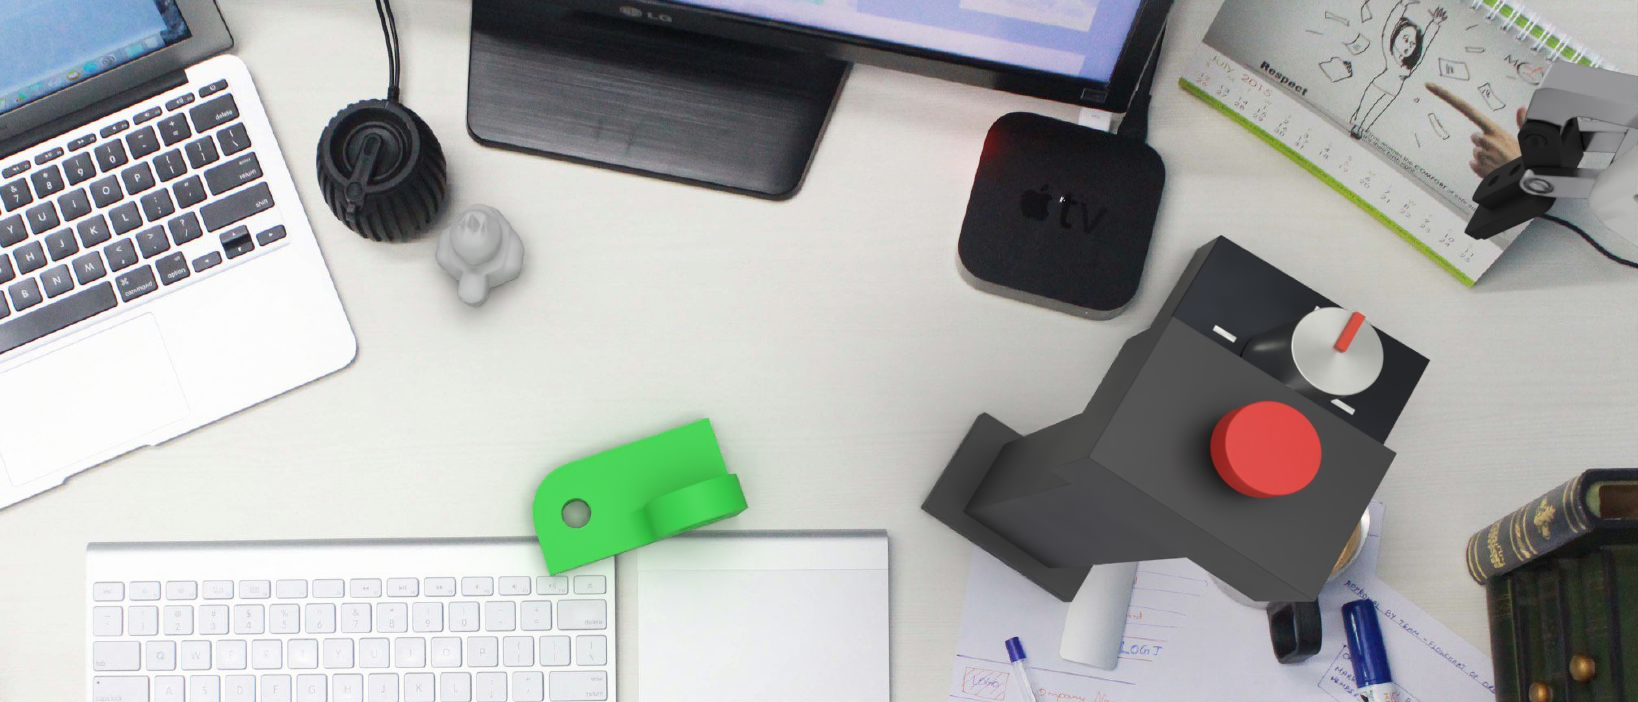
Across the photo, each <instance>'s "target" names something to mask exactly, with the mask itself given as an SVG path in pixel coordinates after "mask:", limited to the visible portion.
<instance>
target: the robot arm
mask: <svg viewBox="0 0 1638 702" xmlns="http://www.w3.org/2000/svg"><path fill="white" fill-rule="evenodd" d="M1578 118H1585V119H1589V120H1579V119H1578ZM1516 138H1517V143H1518V146H1519V151H1520V156H1517V157H1516V158H1514V159H1512V160H1510V161H1508V162H1506V163H1504V164H1502V165H1500V166H1499V167H1496V168H1494V169H1493V170H1491V171H1490V172H1489V173H1488V174H1487V175H1486V176H1485V177H1483V179H1481V181H1480V183H1479V184H1478V186H1477V187H1476V189H1475V191H1474V193H1473V195H1472V196H1471V197H1472V198H1471V201H1472V202H1473V203H1476V204H1477V208H1476V209H1475V210H1474V213H1473V214H1472V216H1471V218H1470V220H1469V221H1468V223H1467V225H1466V227H1465V228H1464V231H1463V233H1464V234H1465V235H1467V236H1468V237H1471V238H1472V239H1473V240H1475V241H1479V240H1483V241H1486V240H1488V239H1490V238H1493V237H1494V236H1497V235H1499V234H1501V233H1503V232H1506V231H1508V230H1511V229H1513V228H1515V227H1517V226H1520V225H1522V224H1524V223H1526V222H1529V221H1531V220H1533V219H1536V218H1538V217H1540V216H1543V215H1544V214H1546V213H1547V212H1549V211H1550V210H1551V209H1552V207H1553V206H1554V205H1555V202H1556V201H1557V199H1558V198H1559V199H1573V200H1574V199H1575V200H1586V203H1587V206H1588V208H1589V209H1590V210H1589V211H1590V212H1592V215H1593V216H1594V217H1595V218H1596V219H1597V220H1598V221H1599V222H1600V223H1601V224H1602V225H1603V226H1604V227H1606V228H1607V229H1608V230H1609V231H1610V232H1612V233H1613V234H1614V235H1616V236H1618V237H1619V238H1621V239H1623V240H1624V241H1626V242H1627V243H1629V244H1631V245H1632V246H1634V247H1636V248H1638V75H1634V74H1630V73H1625V72H1620V71H1615V70H1610V69H1605V68H1600V67H1597V66H1596V67H1595V66H1590V65H1587V64H1586V65H1585V64H1580V63H1575V62H1570V61H1562V60H1560V61H1555V62H1552V63H1551V64H1549V65H1548V67H1547V68H1546V70H1545V72H1544V73H1543V76H1542V77H1541V79H1540V81H1539V83H1538V84H1537V86H1536V88H1535V89H1534V91H1533V94H1532V96H1531V99H1530V102H1529V104H1528V107H1527V109H1526V113H1525V115H1524V120H1523V122H1522V125H1521V127H1520V129H1519V131H1518V133H1517V137H1516ZM1584 153H1603V154H1614V155H1613V157H1612V159H1611V160H1610V163H1609V164H1608V165H1607V167H1606V168H1594V167H1579V165H1580V163H1581V161H1582V160H1583V158H1584V156H1585V154H1584Z"/></svg>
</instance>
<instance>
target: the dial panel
mask: <svg viewBox="0 0 1638 702" xmlns="http://www.w3.org/2000/svg"><path fill="white" fill-rule="evenodd" d="M1165 300H1166V301H1164V303H1163V305H1162V307H1161V309H1160V310H1159V312H1158V313H1157V315H1156V317H1155V318H1154V320H1153V321H1152V323H1151V325H1150V326H1149V328H1151V327H1153V326H1154V325H1156V324H1158V323H1160V322H1162V321H1164V320H1166V319H1168V318H1170V317H1172V316H1173V317H1175V318H1177V319H1179V320H1180V321H1182V322H1183V323H1185V324H1187V325H1188V326H1190V327H1192V328H1193V329H1195V330H1197V331H1198V332H1200V333H1201V334H1203V335H1205V336H1206V337H1208V338H1210V339H1211V340H1213V341H1215V342H1216V343H1218V344H1219V345H1221V346H1223V347H1224V348H1226V349H1228V350H1229V351H1231V352H1233V353H1234V354H1236V355H1237V356H1239V357H1242V354H1243V351H1244V349H1245V347H1246V345H1247V344H1248V342H1249V341H1250V340H1251V339H1252V338H1253V337H1255V336H1256V335H1258V334H1259V333H1261V332H1264V331H1266V330H1269V329H1271V328H1273V327H1276V326H1278V325H1281V324H1283V323H1285V322H1288V321H1290V320H1293V319H1295V318H1297V317H1300V316H1302V315H1305V314H1307V313H1309V312H1312V311H1314V310H1317V309H1320V308H1326V307H1337V308H1343V309H1345V307H1343V306H1341V305H1339V304H1337V302H1335V301H1333V300H1331V299H1329V298H1328V297H1326V296H1325V295H1323V294H1321V293H1319V292H1318V291H1316V290H1314V289H1313V288H1311V287H1309V286H1307V285H1306V284H1304V283H1303V282H1301V281H1299V280H1297V278H1294V277H1293V276H1291V275H1289V274H1288V273H1286V272H1284V271H1282V270H1281V269H1280V268H1278V267H1276V266H1274V265H1272V264H1271V263H1269V262H1267V261H1266V260H1265V259H1263V258H1261V257H1259V256H1257V255H1256V254H1254V253H1253V252H1251V251H1249V250H1248V249H1246V248H1244V247H1243V246H1241V245H1239V244H1238V243H1236V242H1234V241H1233V240H1231V239H1229V238H1227V237H1226V236H1224V235H1222V234H1220V235H1218V236H1217V237H1215V238H1213V239H1212V240H1210V241H1208V242H1206V243H1204V244H1203V245H1202V246H1199V247H1198V248H1197V249H1196V251H1195V252H1194V254H1193V255H1192V257H1191V259H1190V261H1189V262H1188V264H1187V265H1186V267H1185V269H1184V270H1183V272H1182V273H1181V275H1180V277H1179V279H1178V280H1177V282H1176V283H1175V285H1174V287H1173V288H1172V290H1171V291H1170V293H1169V295H1168V297H1167V298H1166V299H1165ZM1368 323H1369V322H1368ZM1369 324H1370V325H1371V326H1372V327H1373V329H1374V330H1375V331H1376V333H1377V335H1378V336H1379V339H1380V341H1381V344H1382V348H1383V365H1382V369H1381V372H1380V374H1379V376H1378V377H1377V379H1376V380H1375V381H1374V383H1373V384H1372V385H1371V386H1369V387H1368V388H1367V389H1365V390H1364V391H1362V392H1359V393H1357V394H1353V395H1350V396H1346V397H1343V398H1339V399H1335V400H1332V401H1328V402H1325V403H1321V404H1318V405H1319V406H1321V407H1322V408H1324V409H1326V410H1327V411H1329V412H1331V413H1332V414H1334V415H1335V416H1337V417H1339V418H1340V419H1342V420H1344V421H1345V422H1347V423H1349V424H1350V425H1352V426H1353V427H1355V428H1357V429H1358V430H1360V431H1362V432H1363V433H1365V434H1367V435H1368V436H1370V437H1371V438H1373V439H1375V440H1376V441H1378V442H1380V443H1381V444H1383V445H1385V443H1386V442H1387V439H1388V437H1389V436H1390V434H1391V432H1392V430H1394V427H1395V425H1396V423H1397V421H1398V419H1399V418H1400V417H1401V414H1402V412H1403V411H1404V409H1405V407H1406V405H1407V404H1408V401H1409V400H1410V398H1411V396H1412V394H1413V393H1414V391H1415V389H1416V387H1417V385H1418V384H1419V382H1420V380H1421V378H1422V376H1423V374H1424V373H1425V371H1426V369H1427V367H1428V366H1429V363H1430V362H1431V359H1430V358H1428V357H1427V356H1425V355H1423V354H1421V353H1419V352H1418V351H1417V350H1414V348H1411V347H1409V346H1408V345H1406V344H1405V343H1403V342H1402V341H1400V340H1398V339H1396V338H1395V337H1393V336H1392V335H1389V334H1388V333H1387V332H1385V331H1383V330H1381V329H1379V327H1376V326H1374V325H1373V324H1371V323H1369Z"/></svg>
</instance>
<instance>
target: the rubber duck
mask: <svg viewBox="0 0 1638 702" xmlns="http://www.w3.org/2000/svg"><path fill="white" fill-rule="evenodd" d="M436 245H437V246H436V250H435V261H436V263H437V265H438V266H439V267H440V268H441V269H442V270H443V271H444V272H445V273H447V274H448V275H449V276H450V277H451V278H452V279H454V280H456V281H457V282H458V285H457V292H456V293H457V297H458V298H459V299H460V300H461V301H462V302H463V303H465V304H467V306H468V307H470V308H479V307H481V306H483V305H484V304H485V303H486V302H487V301H488V298H489V296H490V291H491V290H490V289H491V288H494V287H498V286H501V285H503V284H505V283H506V282H510V281H513V280H515V279H517V278H518V277H519V276H521V273H522V268H523V263H524V258H525V247H524V243H523V241H522V239H521V236H520V235H519V234H518V232H516V230H514V228H513V226H512V224H510V222H509V220H508V219H507V218H506V217H505V216H504V215H503V213H502V212H501V211H500V210H499V209H498V208H496V207H494V206H490V205H487V204H483V203H476V204H473V205H471V206H469V207H467V208H466V209H464V210H463V211H461V213H459V215H457V216H456V218H454V220H453V221H452V223H451V224H450V225H449V226H447V227H446V228H444V230H443V231H442V232H441V234H440V235H439V237H438V240H437V244H436Z"/></svg>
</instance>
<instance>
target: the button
mask: <svg viewBox="0 0 1638 702" xmlns="http://www.w3.org/2000/svg"><path fill="white" fill-rule="evenodd" d="M1211 456H1212V460H1213V463H1214V466H1215V468H1216V470H1217V472H1218V473H1219V475H1220V476H1221V477H1222V478H1223V480H1224V481H1225V482H1226V483H1227V484H1228V485H1229V486H1231V487H1232V488H1234V489H1235V490H1237V491H1238V492H1240V493H1242V494H1245V495H1247V496H1251V497H1256V498H1270V497H1277V496H1283V495H1289V494H1292V493H1295V492H1297V491H1300V490H1301V489H1303V488H1304V487H1306V486H1307V485H1308V484H1309V483H1310V482H1311V481H1312V480H1313V478H1314V477H1315V475H1316V474H1317V471H1318V469H1319V466H1320V463H1321V444H1320V440H1319V437H1318V435H1317V432H1316V431H1315V429H1314V427H1313V426H1312V424H1311V423H1310V422H1309V420H1308V419H1307V418H1306V417H1305V416H1304V415H1303V414H1301V413H1300V412H1299V411H1297V410H1296V409H1294V408H1292V407H1290V406H1288V405H1286V404H1283V403H1279V402H1273V401H1261V402H1256V403H1252V404H1249V405H1246V406H1243V407H1239V408H1237V409H1234V410H1232V411H1230V412H1229V413H1227V414H1226V415H1225V416H1223V418H1222V419H1221V420H1220V421H1219V422H1218V424H1217V425H1216V427H1215V429H1214V431H1213V434H1212V438H1211Z"/></svg>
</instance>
